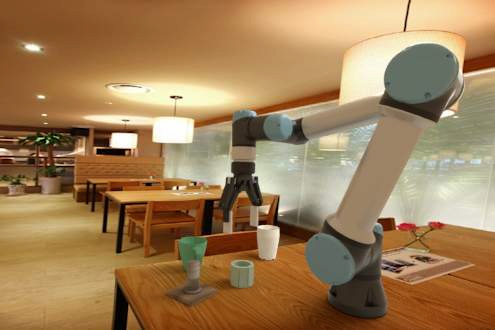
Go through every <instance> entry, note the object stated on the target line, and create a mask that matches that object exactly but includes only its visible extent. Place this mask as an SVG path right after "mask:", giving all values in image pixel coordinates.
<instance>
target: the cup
mask: <svg viewBox="0 0 495 330" xmlns="http://www.w3.org/2000/svg"><path fill="white" fill-rule="evenodd" d="M256 228H257V229H256V240H257V241H256V242H257V250H258V251H257V252H258V258H259V259H260V258H261V260H263V259H265V260H264V261H273V260H272V259H274V260H275V259H276V257H277V253H278V252H277V251H278V249H279V248H278V246H279V241H280V227H278V226H277V225H271V224H270V225H269V224H265V225H264V224H262V225H258V226H257V227H256Z"/></svg>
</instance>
